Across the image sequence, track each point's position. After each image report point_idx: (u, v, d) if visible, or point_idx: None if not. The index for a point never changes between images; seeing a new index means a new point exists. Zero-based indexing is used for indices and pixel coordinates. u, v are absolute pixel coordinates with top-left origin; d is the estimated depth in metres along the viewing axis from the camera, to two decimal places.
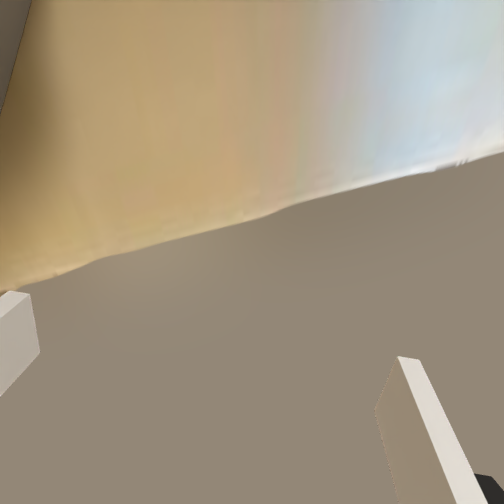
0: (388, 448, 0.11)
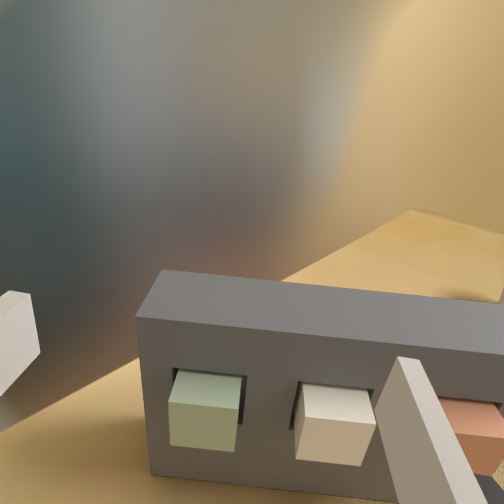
0: (388, 448, 0.11)
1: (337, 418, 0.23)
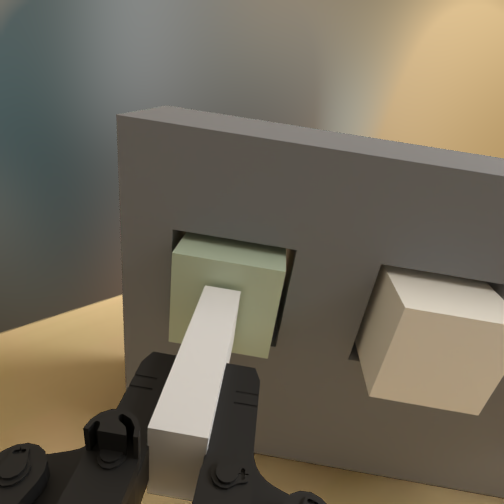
0: None
1: (461, 314, 0.13)
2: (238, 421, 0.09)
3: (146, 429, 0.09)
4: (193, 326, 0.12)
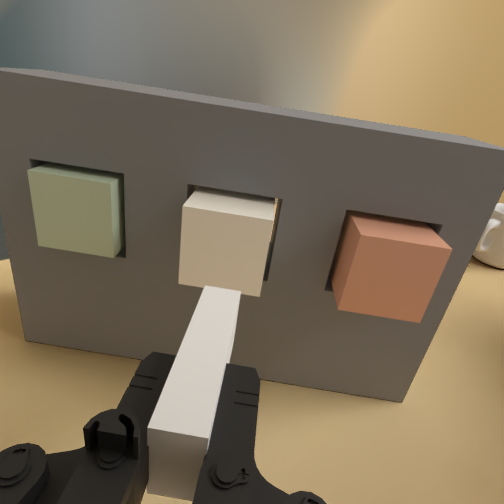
0: None
1: (224, 211, 0.17)
2: (239, 421, 0.09)
3: (146, 429, 0.09)
4: (193, 326, 0.12)
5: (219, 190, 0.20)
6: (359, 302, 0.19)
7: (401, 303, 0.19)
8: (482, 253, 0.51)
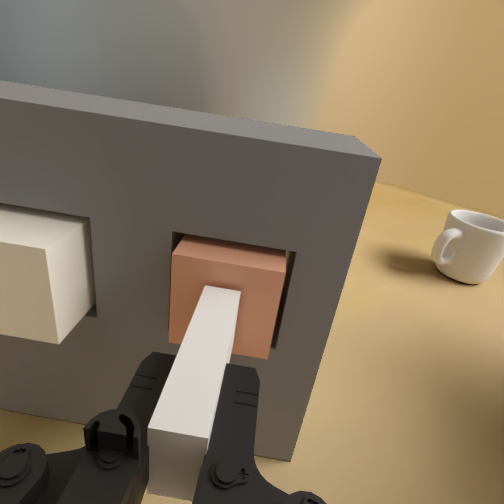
0: None
1: None
2: (239, 421, 0.09)
3: (146, 429, 0.09)
4: (193, 326, 0.12)
5: None
6: None
7: (240, 336, 0.15)
8: (445, 266, 0.46)
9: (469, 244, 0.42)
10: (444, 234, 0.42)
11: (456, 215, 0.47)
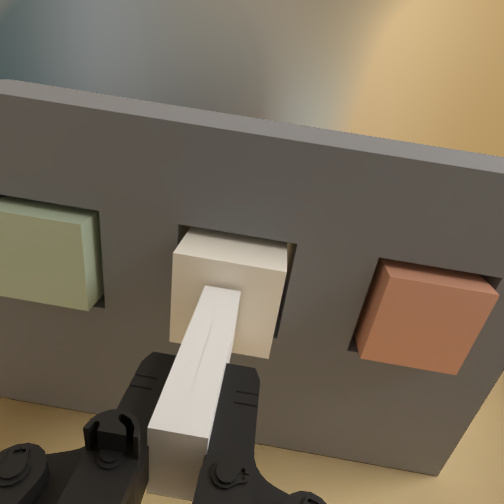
0: None
1: (225, 259, 0.14)
2: (239, 421, 0.09)
3: (146, 429, 0.09)
4: (193, 326, 0.12)
5: None
6: (386, 351, 0.16)
7: (435, 353, 0.16)
8: None
9: None
10: None
11: None
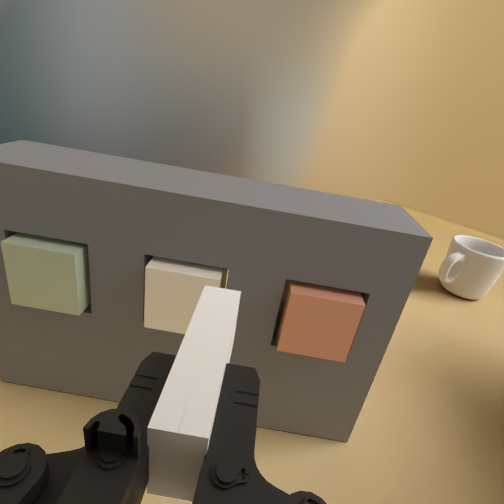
0: None
1: (179, 271, 0.21)
2: (239, 421, 0.09)
3: (146, 429, 0.09)
4: (193, 326, 0.12)
5: None
6: (294, 345, 0.23)
7: (328, 346, 0.23)
8: (449, 284, 0.53)
9: (470, 266, 0.50)
10: (449, 258, 0.50)
11: (458, 240, 0.54)
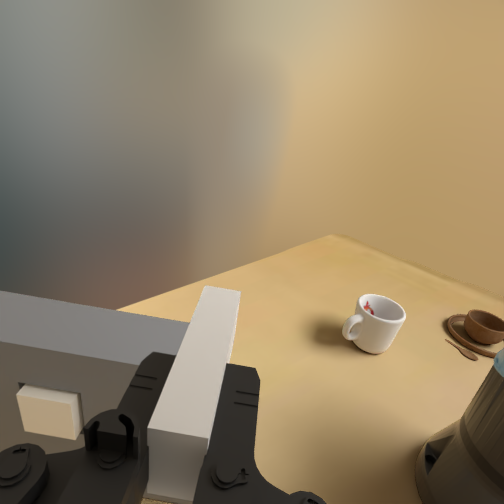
0: None
1: (41, 397, 0.29)
2: (239, 421, 0.09)
3: (146, 429, 0.09)
4: (193, 326, 0.12)
5: None
6: None
7: None
8: (355, 339, 0.60)
9: (368, 327, 0.57)
10: (349, 320, 0.57)
11: (365, 299, 0.61)
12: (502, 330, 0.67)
